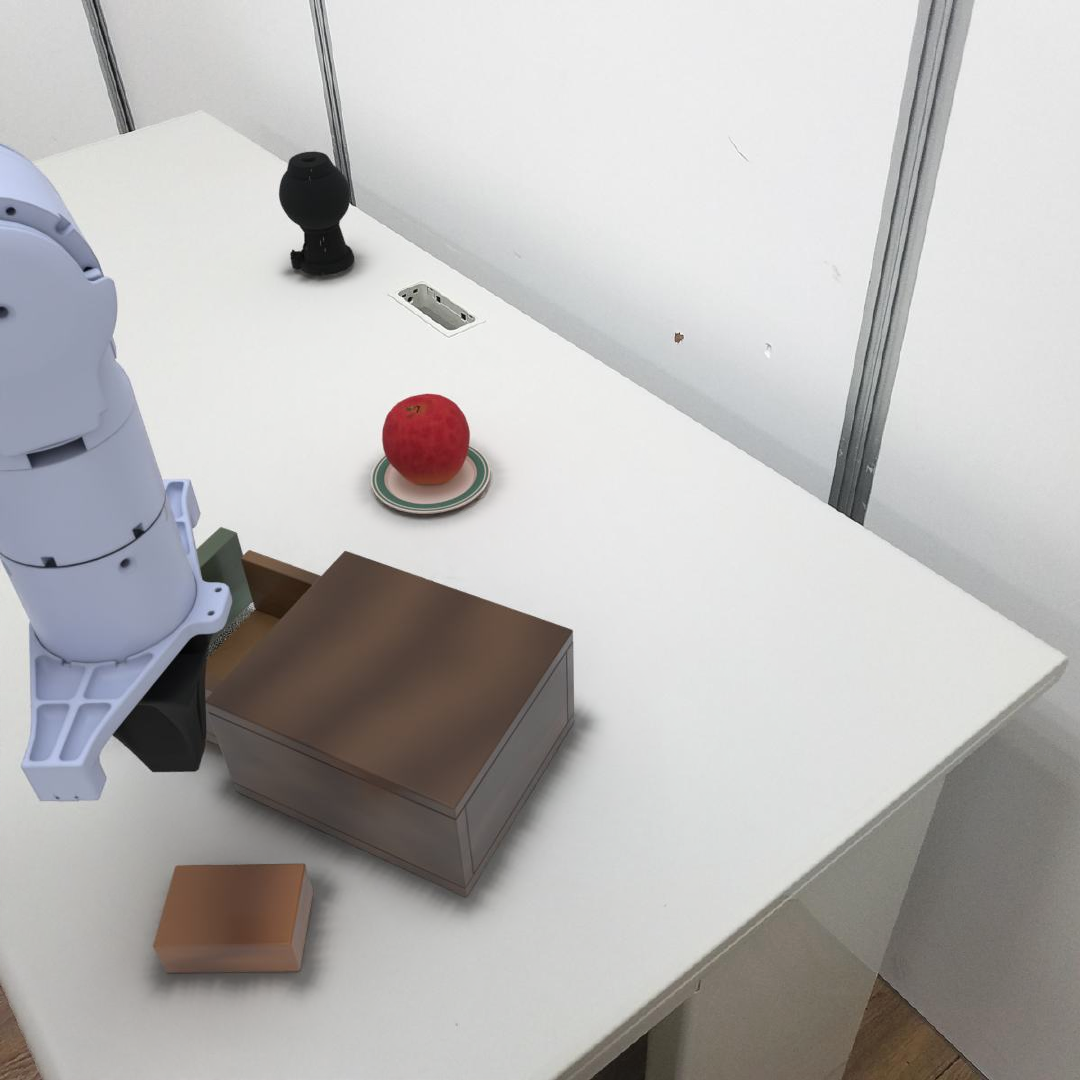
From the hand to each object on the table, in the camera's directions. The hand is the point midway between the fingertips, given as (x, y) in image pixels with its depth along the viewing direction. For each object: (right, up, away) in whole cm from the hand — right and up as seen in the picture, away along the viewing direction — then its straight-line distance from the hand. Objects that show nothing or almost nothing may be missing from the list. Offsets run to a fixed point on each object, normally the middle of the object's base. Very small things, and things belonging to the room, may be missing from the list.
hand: (178, 758), depth 47 cm
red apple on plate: (+8, +13, +29) cm, 32 cm away
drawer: (-2, +2, +15) cm, 15 cm away
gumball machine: (-4, +33, +52) cm, 62 cm away
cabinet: (+8, -2, +11) cm, 14 cm away
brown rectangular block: (+2, -9, +4) cm, 10 cm away
